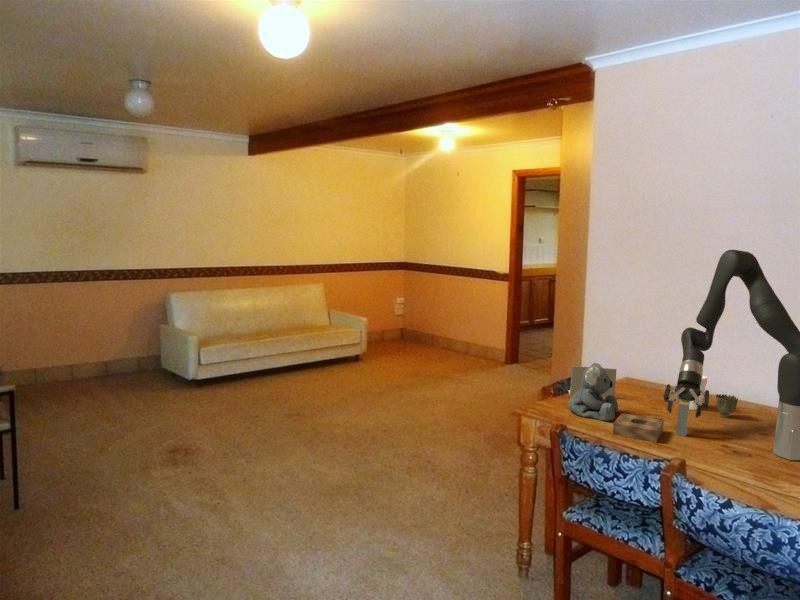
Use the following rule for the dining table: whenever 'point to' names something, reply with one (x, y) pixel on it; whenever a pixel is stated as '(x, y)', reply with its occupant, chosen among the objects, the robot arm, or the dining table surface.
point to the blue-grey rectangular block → (683, 417)
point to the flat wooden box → (638, 427)
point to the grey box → (577, 378)
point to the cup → (726, 404)
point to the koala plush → (594, 395)
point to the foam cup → (702, 388)
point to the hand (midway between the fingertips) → (683, 414)
